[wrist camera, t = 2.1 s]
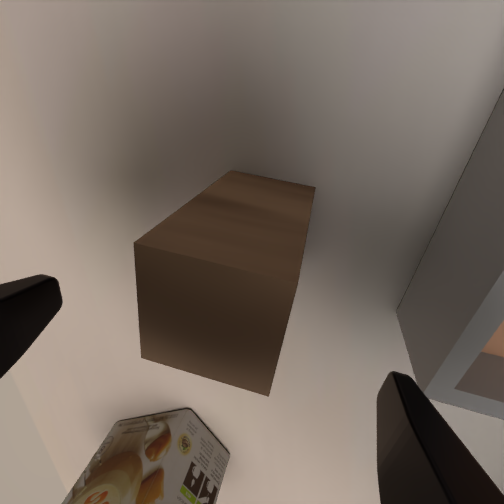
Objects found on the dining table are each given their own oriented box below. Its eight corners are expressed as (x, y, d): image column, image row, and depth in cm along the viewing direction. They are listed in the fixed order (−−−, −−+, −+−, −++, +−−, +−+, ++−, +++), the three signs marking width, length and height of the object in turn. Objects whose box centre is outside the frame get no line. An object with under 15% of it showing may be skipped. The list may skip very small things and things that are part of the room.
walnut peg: (297, 262, 15) (268, 396, 9) (223, 244, 16) (141, 357, 9) (315, 187, 14) (297, 283, 7) (230, 170, 14) (133, 242, 7)
